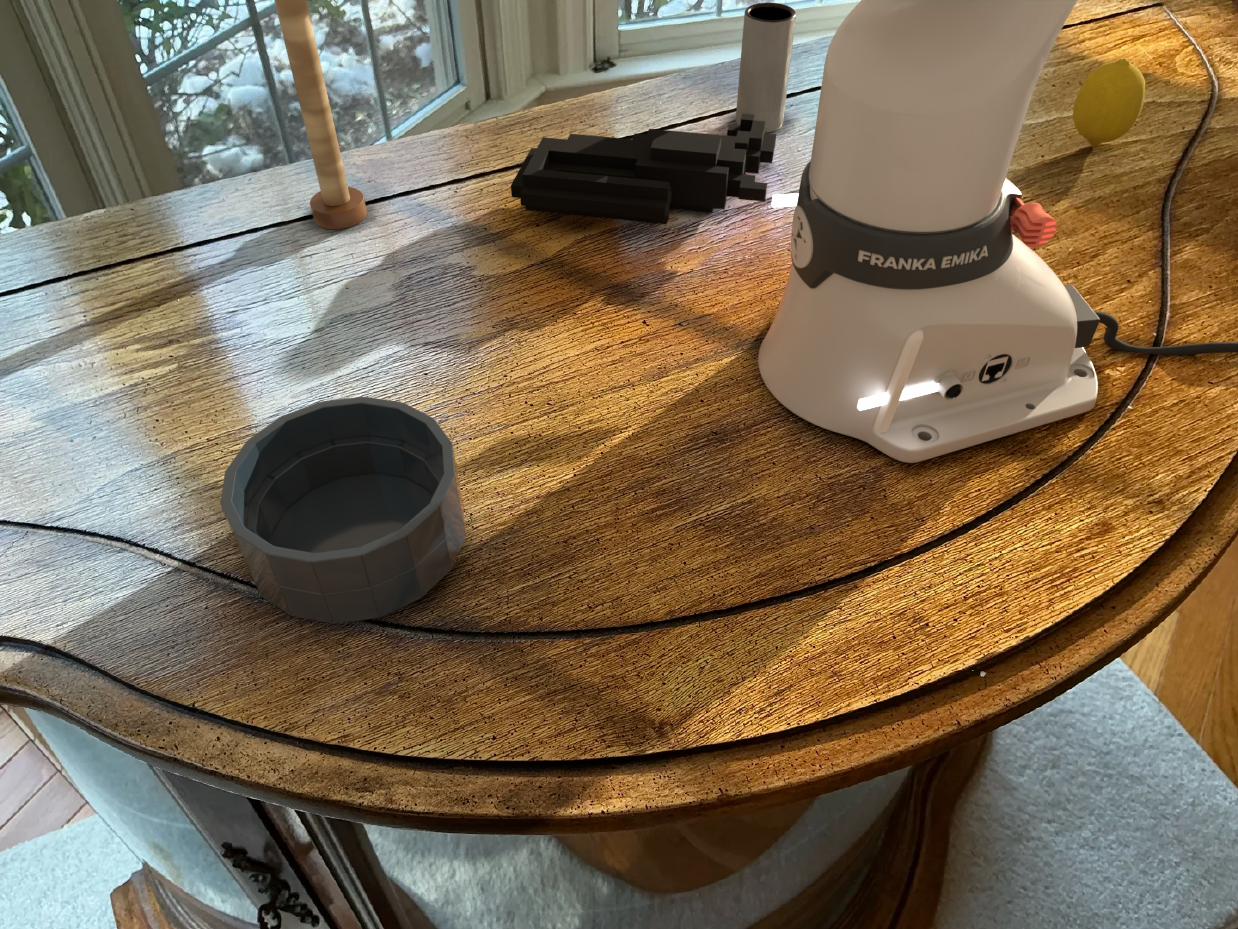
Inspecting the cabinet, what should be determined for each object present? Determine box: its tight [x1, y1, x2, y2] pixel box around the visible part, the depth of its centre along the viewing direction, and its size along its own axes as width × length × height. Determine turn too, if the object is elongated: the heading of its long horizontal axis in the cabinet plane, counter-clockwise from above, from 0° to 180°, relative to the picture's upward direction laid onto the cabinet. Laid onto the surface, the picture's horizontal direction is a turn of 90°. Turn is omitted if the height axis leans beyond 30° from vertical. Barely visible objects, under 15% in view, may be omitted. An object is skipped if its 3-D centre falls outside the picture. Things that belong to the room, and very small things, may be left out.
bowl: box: [220, 396, 467, 625], centre depth 55 cm, size 12×12×6 cm
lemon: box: [1072, 57, 1146, 147], centre depth 88 cm, size 6×6×8 cm
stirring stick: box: [273, 0, 368, 230], centre depth 76 cm, size 4×4×18 cm
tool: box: [510, 114, 778, 226], centre depth 83 cm, size 5×20×15 cm
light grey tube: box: [735, 1, 797, 133], centre depth 91 cm, size 4×4×10 cm
